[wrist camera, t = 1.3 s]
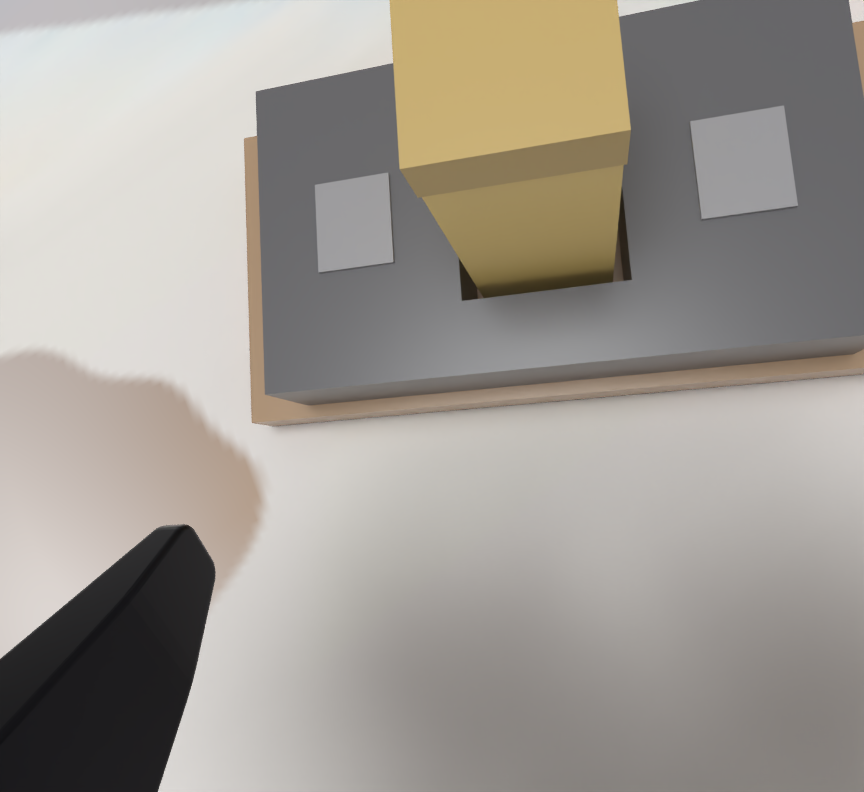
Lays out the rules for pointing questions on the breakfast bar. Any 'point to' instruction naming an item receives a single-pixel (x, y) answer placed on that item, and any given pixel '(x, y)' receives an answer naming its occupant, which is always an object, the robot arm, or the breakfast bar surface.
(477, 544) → the breakfast bar surface
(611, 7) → the plug
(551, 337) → the panel
